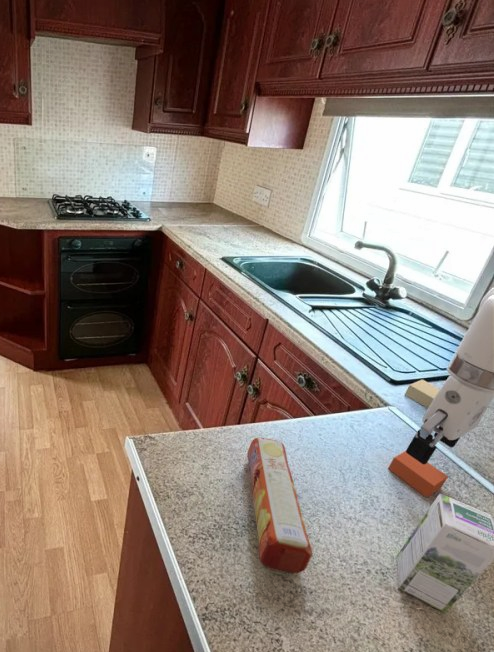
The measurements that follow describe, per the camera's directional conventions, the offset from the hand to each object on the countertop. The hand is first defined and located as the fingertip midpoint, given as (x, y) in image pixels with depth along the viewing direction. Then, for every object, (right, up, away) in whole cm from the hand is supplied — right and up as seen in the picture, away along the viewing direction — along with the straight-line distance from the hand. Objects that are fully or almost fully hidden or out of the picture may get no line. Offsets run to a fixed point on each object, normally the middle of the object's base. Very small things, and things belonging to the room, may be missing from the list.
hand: (429, 449), depth 72 cm
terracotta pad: (0, -6, +3) cm, 7 cm away
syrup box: (-13, -14, -14) cm, 24 cm away
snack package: (-31, -8, -6) cm, 32 cm away
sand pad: (+19, +3, +26) cm, 32 cm away
